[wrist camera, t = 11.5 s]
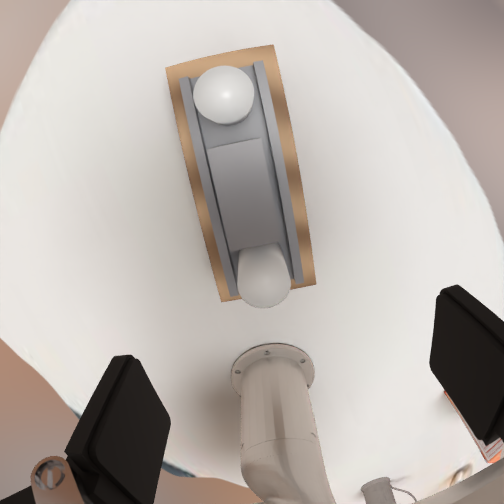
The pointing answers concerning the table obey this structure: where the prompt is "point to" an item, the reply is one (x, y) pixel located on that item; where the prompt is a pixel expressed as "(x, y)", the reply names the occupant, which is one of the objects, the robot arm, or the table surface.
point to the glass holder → (380, 492)
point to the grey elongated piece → (244, 181)
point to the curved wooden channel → (287, 144)
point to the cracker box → (489, 451)
